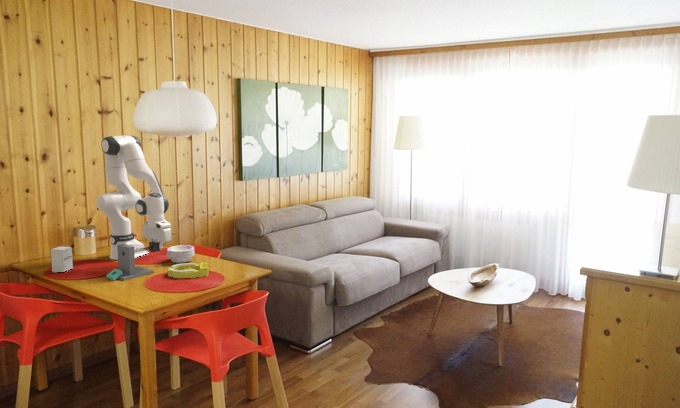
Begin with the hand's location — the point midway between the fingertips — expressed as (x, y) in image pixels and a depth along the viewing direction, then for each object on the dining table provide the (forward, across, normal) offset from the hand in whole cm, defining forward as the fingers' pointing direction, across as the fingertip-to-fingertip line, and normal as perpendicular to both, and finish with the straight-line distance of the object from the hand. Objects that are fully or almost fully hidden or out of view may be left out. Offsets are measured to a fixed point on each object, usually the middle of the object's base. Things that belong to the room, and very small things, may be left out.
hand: (157, 247), depth 296 cm
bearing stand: (+11, 0, -17) cm, 20 cm away
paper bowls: (+11, 0, +16) cm, 20 cm away
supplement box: (+11, -34, -35) cm, 50 cm away
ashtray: (+12, +24, +1) cm, 27 cm away
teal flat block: (+8, 0, -24) cm, 25 cm away
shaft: (+2, 0, -10) cm, 10 cm away
